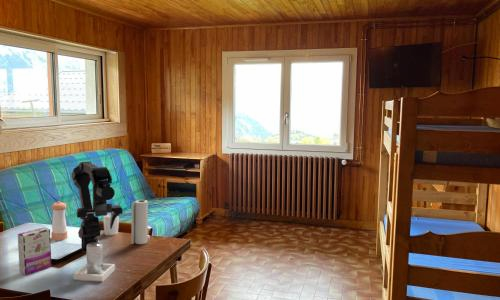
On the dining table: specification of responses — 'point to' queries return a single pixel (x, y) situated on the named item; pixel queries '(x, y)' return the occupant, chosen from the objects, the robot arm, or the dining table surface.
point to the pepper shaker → (58, 221)
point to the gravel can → (95, 258)
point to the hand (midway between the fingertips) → (99, 230)
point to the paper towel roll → (139, 222)
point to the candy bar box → (34, 250)
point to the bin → (83, 275)
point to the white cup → (107, 225)
